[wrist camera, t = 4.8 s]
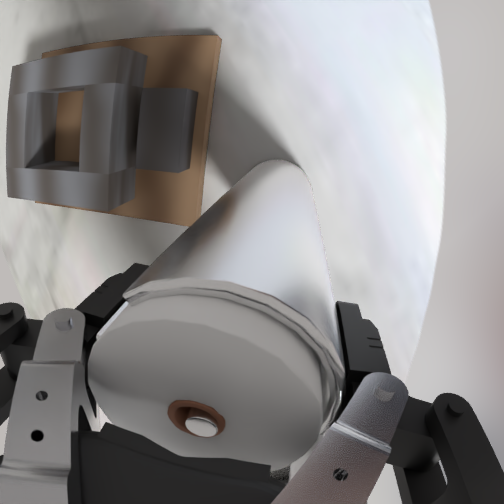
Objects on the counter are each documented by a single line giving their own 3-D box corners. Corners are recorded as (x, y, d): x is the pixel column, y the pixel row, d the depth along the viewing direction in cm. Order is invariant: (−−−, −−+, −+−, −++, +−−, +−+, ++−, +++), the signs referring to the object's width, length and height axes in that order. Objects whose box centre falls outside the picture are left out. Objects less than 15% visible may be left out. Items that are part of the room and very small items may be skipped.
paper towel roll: (255, 236, 31) (159, 485, 8) (231, 172, 29) (30, 331, 6) (321, 216, 29) (366, 476, 6) (299, 149, 28) (308, 261, 5)
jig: (221, 39, 24) (201, 18, 18) (200, 223, 31) (177, 246, 25) (50, 54, 26) (12, 49, 20) (42, 199, 33) (6, 214, 27)
